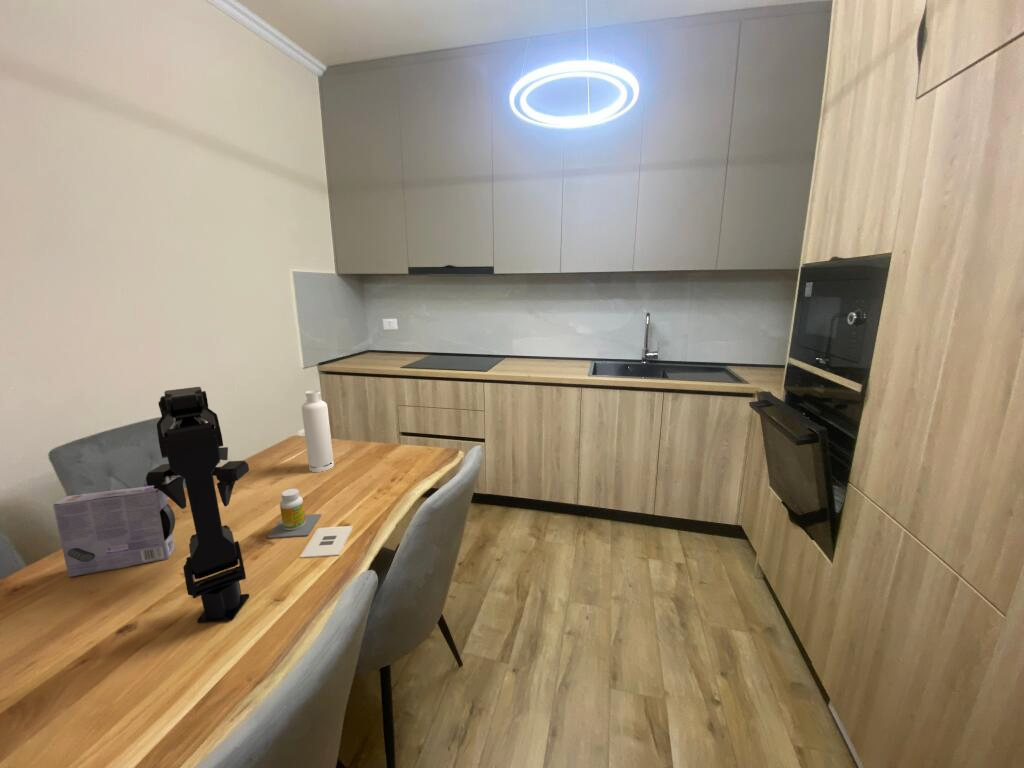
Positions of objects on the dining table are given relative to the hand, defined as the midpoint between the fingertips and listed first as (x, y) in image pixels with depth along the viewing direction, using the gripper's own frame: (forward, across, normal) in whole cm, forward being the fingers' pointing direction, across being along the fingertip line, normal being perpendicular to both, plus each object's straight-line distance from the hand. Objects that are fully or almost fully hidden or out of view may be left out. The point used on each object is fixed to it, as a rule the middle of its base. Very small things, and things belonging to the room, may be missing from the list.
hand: (205, 506), depth 94 cm
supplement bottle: (+13, -14, -11) cm, 22 cm away
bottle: (+13, -8, -49) cm, 51 cm away
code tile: (+13, -25, -3) cm, 28 cm away
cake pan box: (+13, +19, 0) cm, 23 cm away
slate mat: (+13, -14, -11) cm, 22 cm away
